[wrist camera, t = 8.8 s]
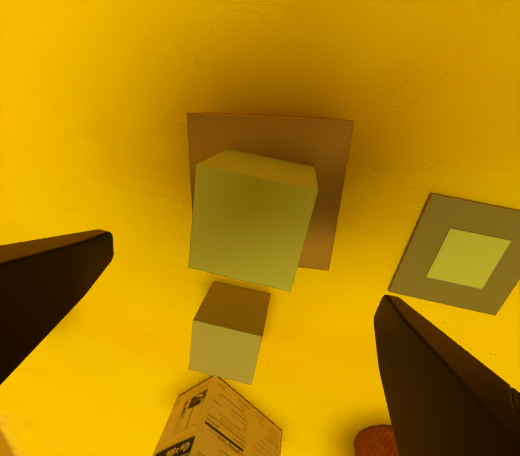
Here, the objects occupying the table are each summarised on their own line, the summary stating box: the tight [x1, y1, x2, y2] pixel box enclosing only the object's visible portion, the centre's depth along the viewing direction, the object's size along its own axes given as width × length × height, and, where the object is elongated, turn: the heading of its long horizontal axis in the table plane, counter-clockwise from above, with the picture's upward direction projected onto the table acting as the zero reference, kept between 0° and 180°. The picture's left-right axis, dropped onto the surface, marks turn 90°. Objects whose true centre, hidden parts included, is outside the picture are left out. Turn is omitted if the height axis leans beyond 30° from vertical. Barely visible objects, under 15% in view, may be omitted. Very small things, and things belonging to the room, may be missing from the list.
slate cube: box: [189, 281, 270, 385], centre depth 23 cm, size 5×5×5 cm
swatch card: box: [388, 193, 520, 315], centre depth 20 cm, size 8×8×1 cm
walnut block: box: [187, 112, 354, 271], centre depth 18 cm, size 9×9×4 cm
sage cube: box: [188, 149, 318, 292], centre depth 14 cm, size 5×5×5 cm
